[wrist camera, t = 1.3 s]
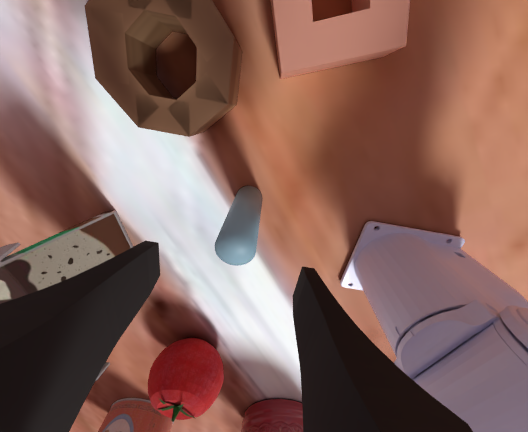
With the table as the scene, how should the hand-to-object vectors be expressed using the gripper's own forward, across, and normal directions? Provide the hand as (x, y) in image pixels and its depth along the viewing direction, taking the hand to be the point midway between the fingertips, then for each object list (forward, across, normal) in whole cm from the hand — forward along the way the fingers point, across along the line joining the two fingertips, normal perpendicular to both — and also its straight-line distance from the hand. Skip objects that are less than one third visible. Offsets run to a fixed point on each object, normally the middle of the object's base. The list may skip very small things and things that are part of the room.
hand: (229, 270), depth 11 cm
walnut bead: (+10, +6, -9) cm, 15 cm away
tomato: (+10, +4, +23) cm, 25 cm away
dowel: (+10, 0, 0) cm, 10 cm away
